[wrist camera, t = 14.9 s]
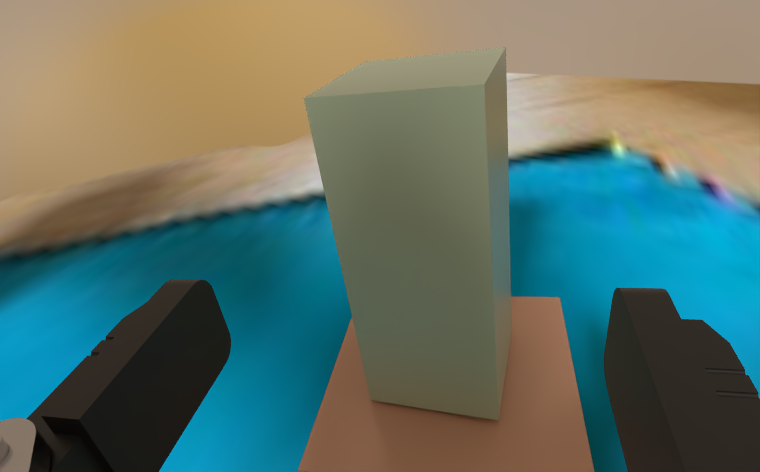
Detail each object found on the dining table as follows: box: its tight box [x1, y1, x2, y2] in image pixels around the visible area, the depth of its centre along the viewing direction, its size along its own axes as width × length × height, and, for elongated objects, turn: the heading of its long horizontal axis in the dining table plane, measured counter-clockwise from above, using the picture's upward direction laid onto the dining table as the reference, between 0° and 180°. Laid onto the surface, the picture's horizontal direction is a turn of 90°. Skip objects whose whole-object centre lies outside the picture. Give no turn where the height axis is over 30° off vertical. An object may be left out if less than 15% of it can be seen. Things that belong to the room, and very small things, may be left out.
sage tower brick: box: [304, 48, 512, 421], centre depth 18 cm, size 5×5×12 cm
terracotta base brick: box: [298, 297, 594, 472], centre depth 21 cm, size 10×10×3 cm
